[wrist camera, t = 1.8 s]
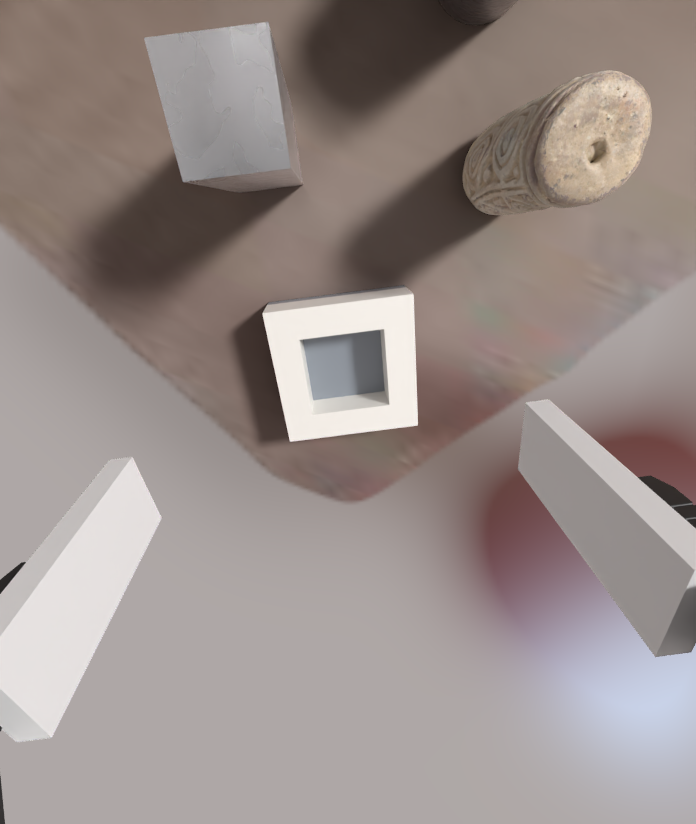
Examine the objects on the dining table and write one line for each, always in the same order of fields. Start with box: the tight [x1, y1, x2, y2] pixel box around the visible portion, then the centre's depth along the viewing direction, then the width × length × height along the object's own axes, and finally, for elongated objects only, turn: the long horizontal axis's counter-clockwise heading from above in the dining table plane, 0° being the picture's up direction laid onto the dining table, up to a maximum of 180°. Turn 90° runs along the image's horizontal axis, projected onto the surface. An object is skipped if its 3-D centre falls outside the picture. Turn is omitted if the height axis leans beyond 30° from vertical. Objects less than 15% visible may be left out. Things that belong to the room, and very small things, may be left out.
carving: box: [463, 70, 652, 215], centre depth 25 cm, size 6×8×12 cm
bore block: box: [262, 285, 418, 442], centre depth 35 cm, size 12×12×4 cm
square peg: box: [144, 22, 303, 193], centre depth 23 cm, size 5×5×14 cm
